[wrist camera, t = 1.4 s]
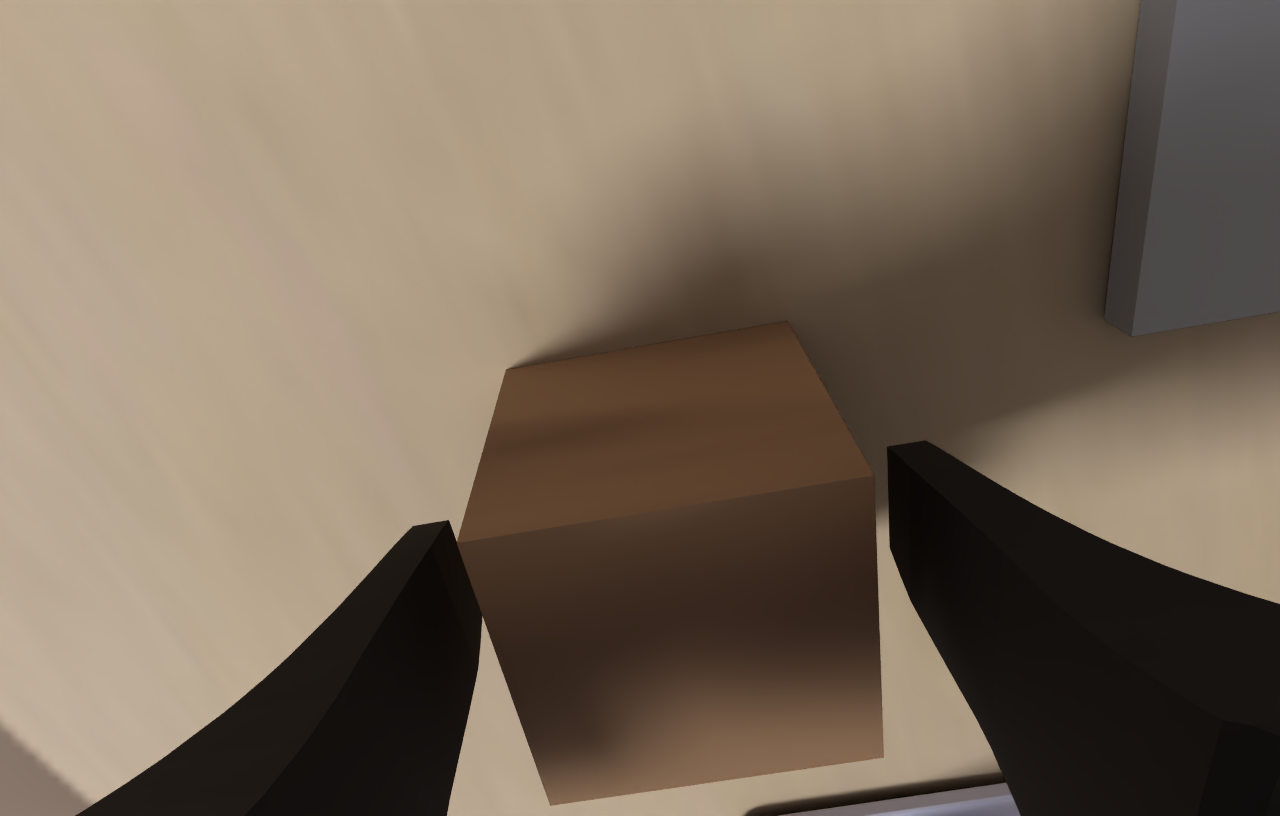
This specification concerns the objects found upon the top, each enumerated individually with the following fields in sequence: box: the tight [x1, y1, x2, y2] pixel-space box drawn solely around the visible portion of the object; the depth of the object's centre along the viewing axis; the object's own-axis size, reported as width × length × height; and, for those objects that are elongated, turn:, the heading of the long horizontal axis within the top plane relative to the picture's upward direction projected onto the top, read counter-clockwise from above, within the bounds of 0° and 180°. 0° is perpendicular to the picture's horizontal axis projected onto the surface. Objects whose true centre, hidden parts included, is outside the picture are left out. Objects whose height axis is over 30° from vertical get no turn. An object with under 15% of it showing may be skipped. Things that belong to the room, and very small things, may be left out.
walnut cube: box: [457, 321, 884, 806], centre depth 12 cm, size 5×5×5 cm
